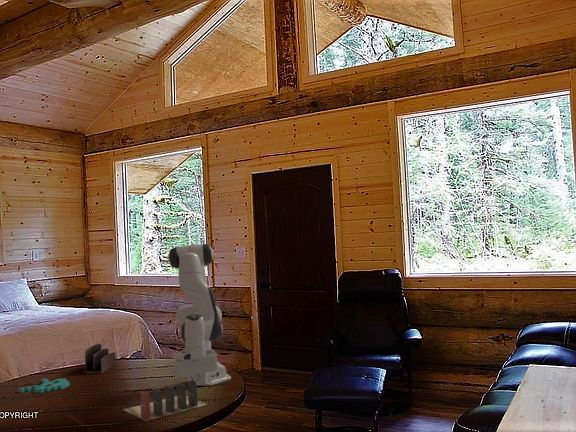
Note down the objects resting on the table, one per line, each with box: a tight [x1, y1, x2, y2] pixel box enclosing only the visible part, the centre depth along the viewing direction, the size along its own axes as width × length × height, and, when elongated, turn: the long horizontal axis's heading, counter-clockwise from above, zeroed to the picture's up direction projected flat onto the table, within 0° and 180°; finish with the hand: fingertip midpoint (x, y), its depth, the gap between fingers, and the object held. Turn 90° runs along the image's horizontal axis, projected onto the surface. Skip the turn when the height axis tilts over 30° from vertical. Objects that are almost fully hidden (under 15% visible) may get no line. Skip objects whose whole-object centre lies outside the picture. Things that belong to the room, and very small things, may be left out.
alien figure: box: [17, 378, 71, 394], centre depth 283 cm, size 20×2×20 cm
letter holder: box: [84, 343, 117, 375], centre depth 319 cm, size 10×20×14 cm, turn 174°
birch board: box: [122, 395, 208, 422], centre depth 235 cm, size 29×22×1 cm
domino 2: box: [164, 385, 175, 413], centre depth 229 cm, size 2×5×10 cm, turn 40°
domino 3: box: [176, 382, 187, 410], centre depth 232 cm, size 2×5×10 cm, turn 39°
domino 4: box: [186, 380, 198, 407], centre depth 236 cm, size 2×5×10 cm, turn 40°
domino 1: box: [152, 387, 163, 416], centre depth 225 cm, size 2×5×10 cm, turn 39°
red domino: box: [139, 390, 151, 419], centre depth 222 cm, size 2×5×10 cm, turn 40°
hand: (196, 384), depth 237 cm, fingers closed
